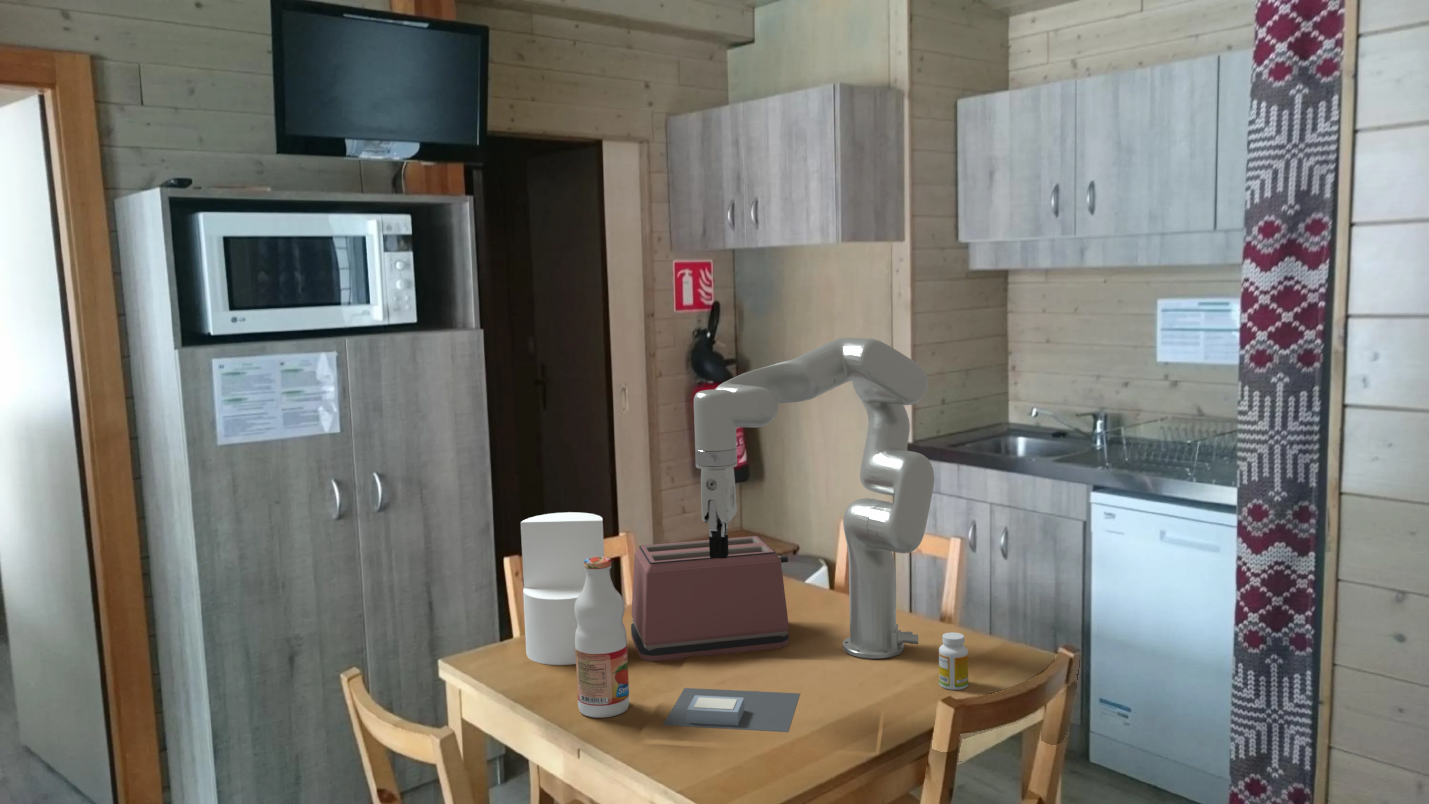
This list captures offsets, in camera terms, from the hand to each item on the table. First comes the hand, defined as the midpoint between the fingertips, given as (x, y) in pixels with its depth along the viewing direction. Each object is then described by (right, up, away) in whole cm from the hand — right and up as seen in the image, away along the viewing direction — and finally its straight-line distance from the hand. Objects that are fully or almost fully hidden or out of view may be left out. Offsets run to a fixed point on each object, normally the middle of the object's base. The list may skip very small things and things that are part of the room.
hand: (719, 556), depth 197 cm
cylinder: (-32, -25, +32) cm, 52 cm away
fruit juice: (-21, -28, +1) cm, 35 cm away
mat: (+3, -28, -3) cm, 28 cm away
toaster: (-1, -23, +36) cm, 43 cm away
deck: (0, -26, -4) cm, 26 cm away
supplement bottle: (+44, -25, +7) cm, 52 cm away
